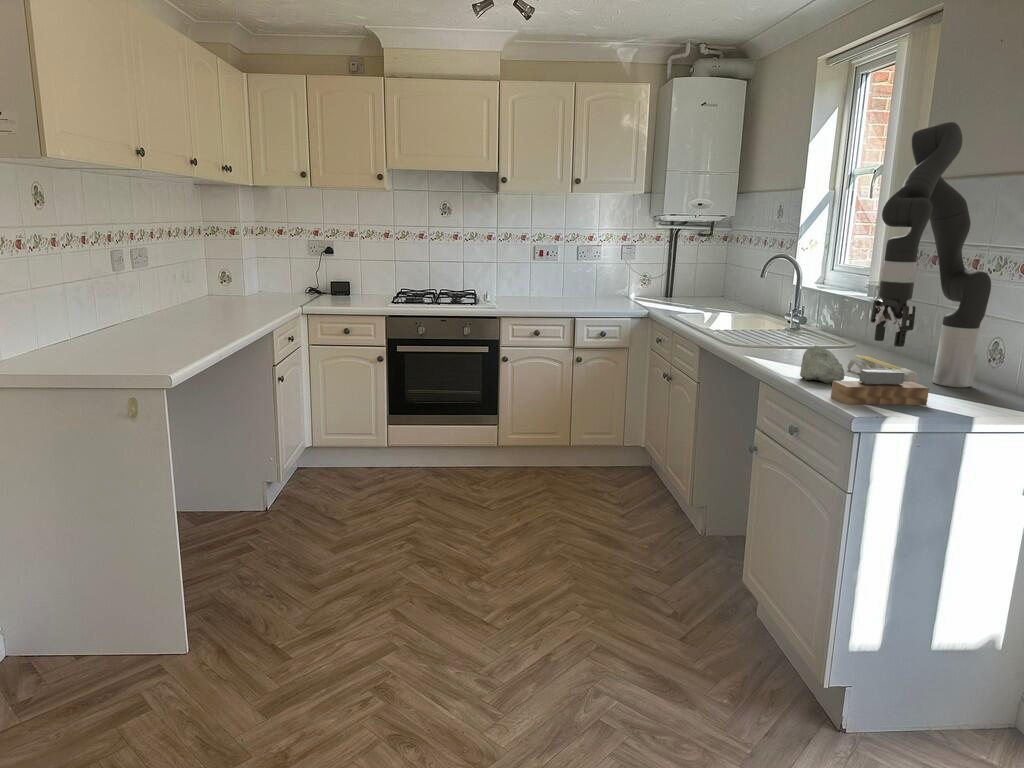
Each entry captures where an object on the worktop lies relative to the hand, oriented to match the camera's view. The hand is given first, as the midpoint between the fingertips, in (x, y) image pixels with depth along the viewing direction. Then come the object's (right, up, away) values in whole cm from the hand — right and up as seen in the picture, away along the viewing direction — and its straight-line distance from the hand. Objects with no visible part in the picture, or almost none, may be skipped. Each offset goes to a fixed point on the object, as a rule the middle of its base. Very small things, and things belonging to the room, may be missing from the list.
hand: (888, 343), depth 183 cm
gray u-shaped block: (-1, -15, +4) cm, 15 cm away
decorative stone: (-7, -10, +26) cm, 28 cm away
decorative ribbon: (+14, -10, +30) cm, 34 cm away
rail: (-1, -15, +4) cm, 15 cm away
